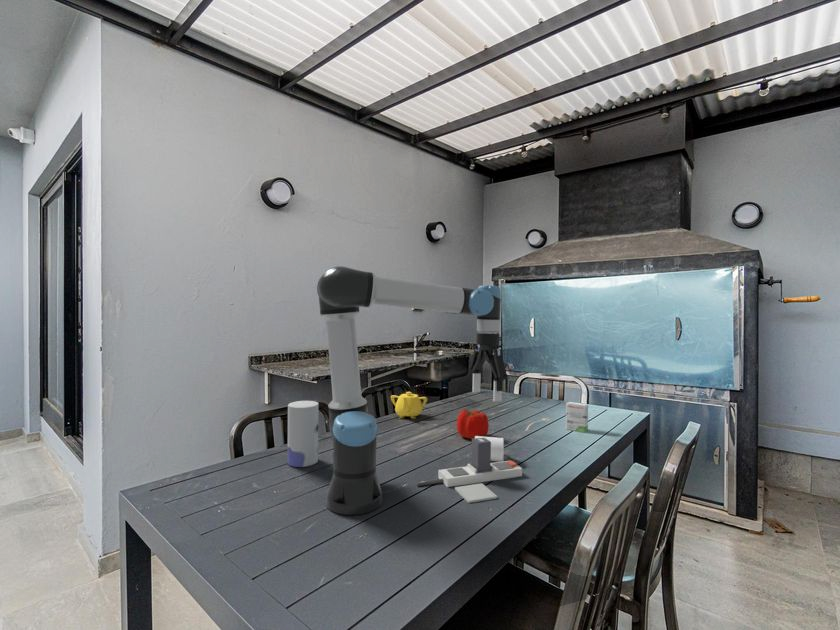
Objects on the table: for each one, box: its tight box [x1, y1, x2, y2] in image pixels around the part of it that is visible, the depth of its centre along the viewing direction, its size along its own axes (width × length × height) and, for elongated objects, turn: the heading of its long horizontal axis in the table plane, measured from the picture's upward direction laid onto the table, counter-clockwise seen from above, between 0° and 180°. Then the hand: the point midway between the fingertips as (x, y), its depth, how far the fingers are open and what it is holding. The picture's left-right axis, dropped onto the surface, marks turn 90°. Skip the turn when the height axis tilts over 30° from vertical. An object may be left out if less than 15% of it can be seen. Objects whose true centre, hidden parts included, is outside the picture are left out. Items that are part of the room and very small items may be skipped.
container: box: [287, 400, 319, 468], centre depth 142 cm, size 10×10×20 cm
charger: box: [470, 438, 492, 472], centre depth 132 cm, size 4×4×9 cm
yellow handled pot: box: [390, 391, 428, 420], centre depth 202 cm, size 14×14×12 cm
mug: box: [475, 436, 505, 462], centre depth 149 cm, size 12×10×8 cm
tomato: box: [456, 409, 490, 440], centre depth 172 cm, size 14×13×10 cm
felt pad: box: [454, 482, 498, 504], centre depth 120 cm, size 9×9×1 cm
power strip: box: [416, 460, 523, 488], centre depth 131 cm, size 34×7×4 cm, turn 110°
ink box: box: [565, 401, 589, 433], centre depth 184 cm, size 9×5×12 cm, turn 56°
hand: (486, 396), depth 139 cm, fingers open, 13 cm apart
